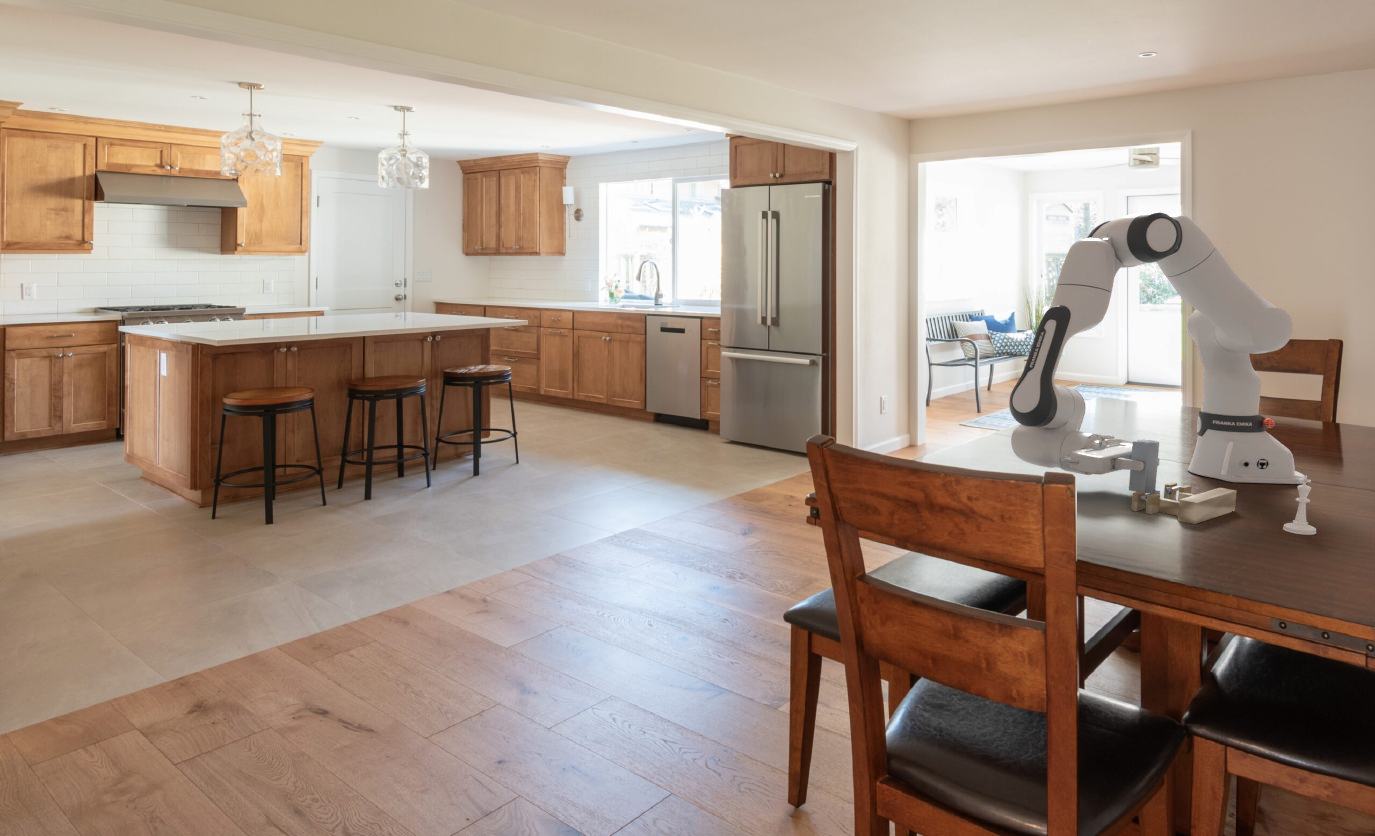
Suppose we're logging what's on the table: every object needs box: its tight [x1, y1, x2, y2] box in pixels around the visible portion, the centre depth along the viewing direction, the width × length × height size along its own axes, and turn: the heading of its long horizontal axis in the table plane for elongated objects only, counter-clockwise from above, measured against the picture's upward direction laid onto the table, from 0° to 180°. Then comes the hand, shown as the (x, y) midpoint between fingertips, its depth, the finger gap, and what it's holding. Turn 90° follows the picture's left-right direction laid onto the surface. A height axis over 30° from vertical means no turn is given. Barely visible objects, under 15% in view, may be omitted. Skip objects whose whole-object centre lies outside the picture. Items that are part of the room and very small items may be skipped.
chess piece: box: [1282, 475, 1317, 536], centre depth 155 cm, size 5×5×10 cm
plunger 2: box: [1164, 485, 1182, 494], centre depth 175 cm, size 1×6×1 cm, turn 126°
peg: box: [1128, 438, 1160, 494], centre depth 175 cm, size 4×4×10 cm
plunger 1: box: [1141, 489, 1161, 501], centre depth 170 cm, size 1×6×1 cm, turn 126°
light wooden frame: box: [1130, 481, 1238, 525], centre depth 170 cm, size 12×16×4 cm
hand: (1150, 464), depth 174 cm, fingers closed on peg, 4 cm apart
